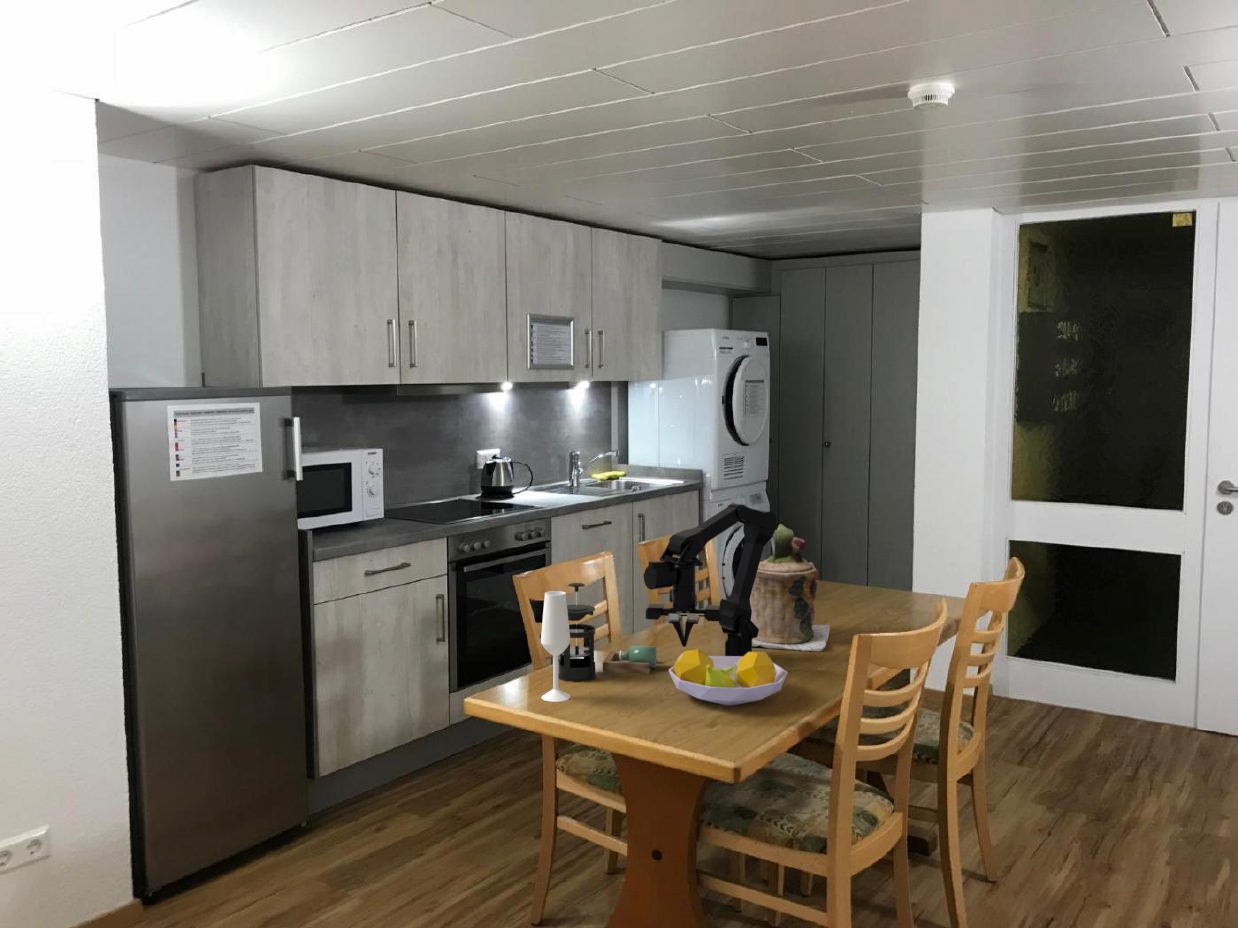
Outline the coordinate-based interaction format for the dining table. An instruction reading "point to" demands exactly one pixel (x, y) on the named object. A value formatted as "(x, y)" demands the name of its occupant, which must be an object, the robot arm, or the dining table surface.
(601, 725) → the dining table surface
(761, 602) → the cookie jar
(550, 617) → the champagne flute
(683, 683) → the fruit bowl
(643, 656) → the bottle
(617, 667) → the shallow wooden tray
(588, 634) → the french press
